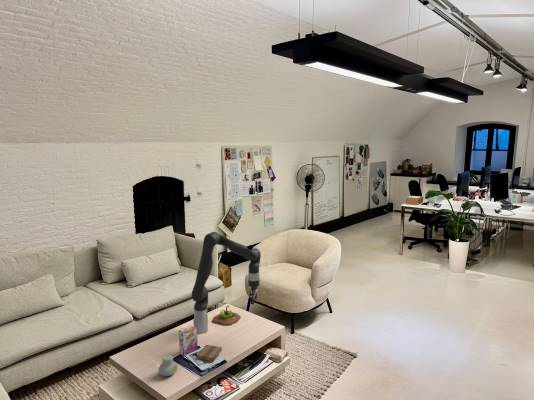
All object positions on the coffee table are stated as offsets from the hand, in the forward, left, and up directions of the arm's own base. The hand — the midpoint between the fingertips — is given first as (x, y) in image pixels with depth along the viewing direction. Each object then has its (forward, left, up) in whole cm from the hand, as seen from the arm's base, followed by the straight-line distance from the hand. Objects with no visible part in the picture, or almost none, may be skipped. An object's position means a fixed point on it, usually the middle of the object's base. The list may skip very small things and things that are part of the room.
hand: (253, 301), depth 253 cm
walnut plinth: (-21, -25, -28) cm, 43 cm away
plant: (-31, +24, -29) cm, 49 cm away
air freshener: (-36, -49, -29) cm, 67 cm away
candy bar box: (-36, -25, -29) cm, 53 cm away
